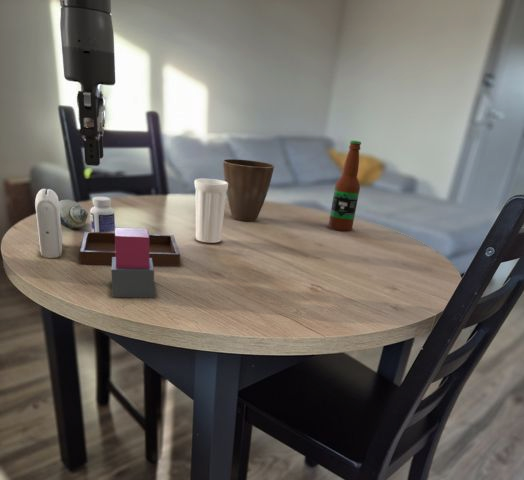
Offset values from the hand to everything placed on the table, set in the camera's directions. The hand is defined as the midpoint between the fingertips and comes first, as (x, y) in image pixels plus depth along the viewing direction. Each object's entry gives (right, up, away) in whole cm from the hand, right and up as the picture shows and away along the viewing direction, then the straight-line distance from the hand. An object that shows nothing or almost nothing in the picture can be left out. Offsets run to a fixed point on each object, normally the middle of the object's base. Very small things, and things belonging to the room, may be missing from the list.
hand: (94, 161), depth 80 cm
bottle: (+52, +6, +69) cm, 86 cm away
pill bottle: (-10, -5, +34) cm, 36 cm away
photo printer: (-16, -11, +21) cm, 29 cm away
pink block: (+5, -16, +4) cm, 18 cm away
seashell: (-19, -1, +38) cm, 43 cm away
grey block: (+4, -21, +7) cm, 22 cm away
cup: (+14, -4, +41) cm, 43 cm away
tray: (-1, -11, +24) cm, 27 cm away
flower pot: (+22, +9, +67) cm, 71 cm away
